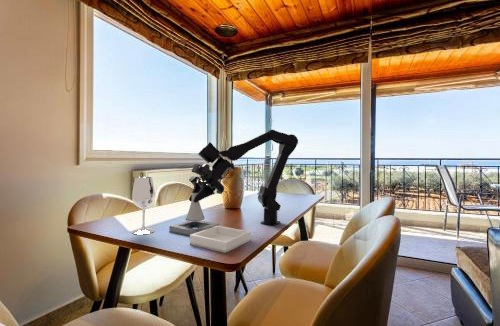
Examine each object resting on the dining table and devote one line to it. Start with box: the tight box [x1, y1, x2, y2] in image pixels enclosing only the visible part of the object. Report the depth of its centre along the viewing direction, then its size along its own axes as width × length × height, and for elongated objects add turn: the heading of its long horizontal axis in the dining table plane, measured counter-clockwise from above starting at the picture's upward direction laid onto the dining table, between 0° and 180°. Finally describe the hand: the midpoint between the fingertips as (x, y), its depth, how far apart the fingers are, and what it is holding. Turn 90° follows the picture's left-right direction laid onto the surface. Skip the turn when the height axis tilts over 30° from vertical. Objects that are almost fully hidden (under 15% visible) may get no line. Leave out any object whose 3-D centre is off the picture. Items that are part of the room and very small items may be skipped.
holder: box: [168, 220, 220, 237], centre depth 99 cm, size 13×13×2 cm
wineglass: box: [131, 176, 156, 235], centre depth 96 cm, size 8×8×20 cm
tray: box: [189, 225, 252, 254], centre depth 85 cm, size 14×14×3 cm
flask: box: [185, 192, 205, 222], centre depth 99 cm, size 7×7×10 cm
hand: (191, 201), depth 98 cm, fingers closed on flask, 3 cm apart
